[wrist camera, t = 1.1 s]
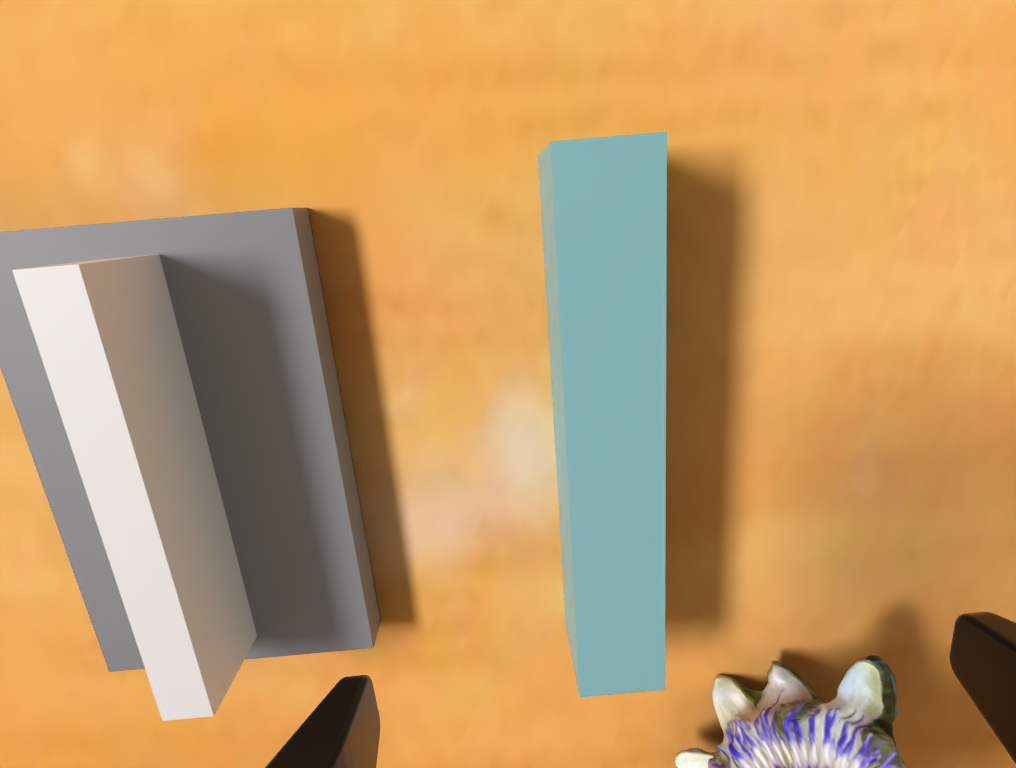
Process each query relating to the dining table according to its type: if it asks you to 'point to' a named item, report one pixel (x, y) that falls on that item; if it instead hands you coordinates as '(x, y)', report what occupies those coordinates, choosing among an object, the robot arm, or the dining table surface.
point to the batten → (609, 399)
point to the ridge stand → (190, 441)
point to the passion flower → (804, 722)
